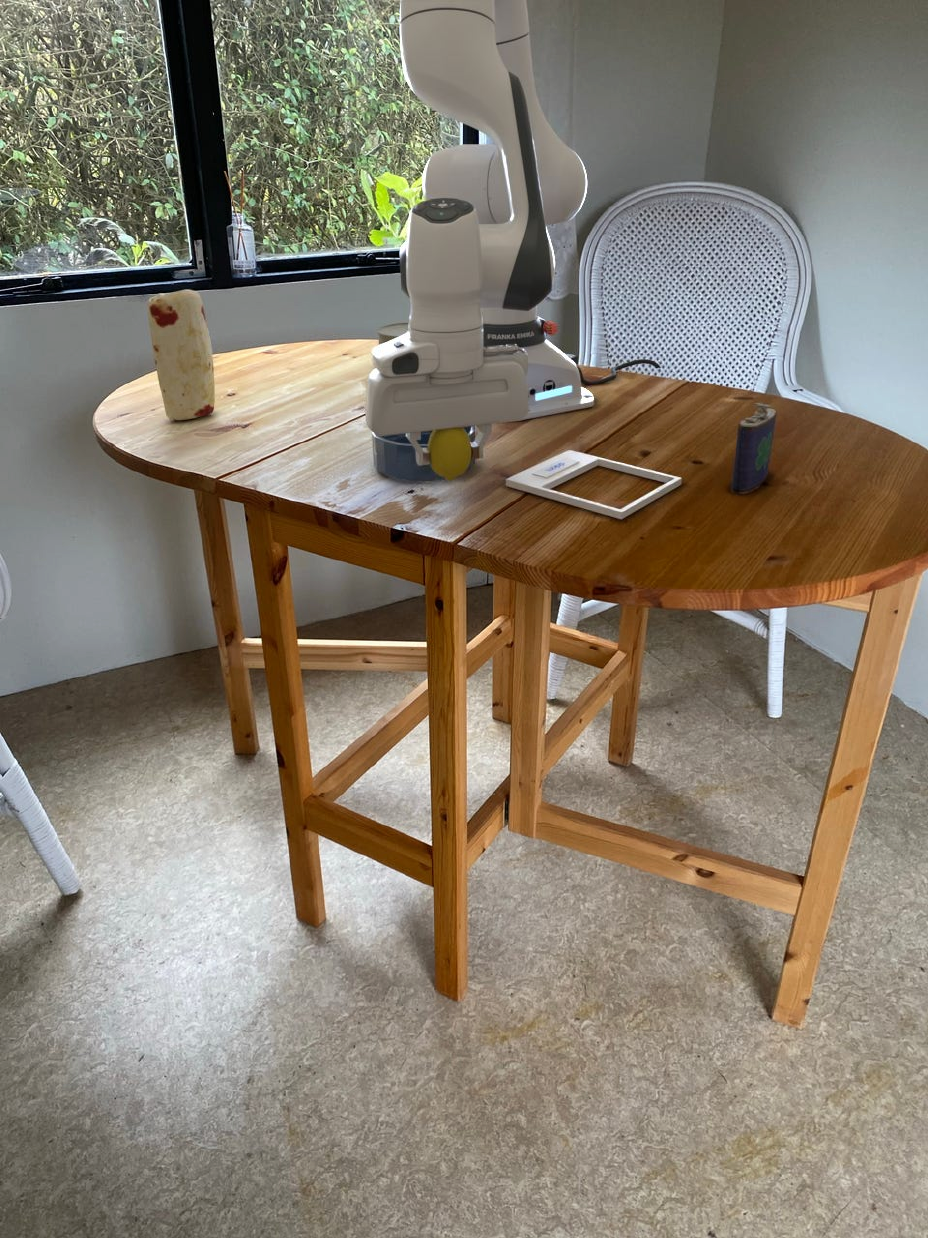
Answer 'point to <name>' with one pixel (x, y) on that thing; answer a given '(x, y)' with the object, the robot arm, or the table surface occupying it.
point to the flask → (753, 450)
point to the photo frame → (576, 463)
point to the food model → (182, 354)
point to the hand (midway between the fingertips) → (449, 460)
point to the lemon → (449, 452)
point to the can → (391, 332)
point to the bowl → (406, 456)
